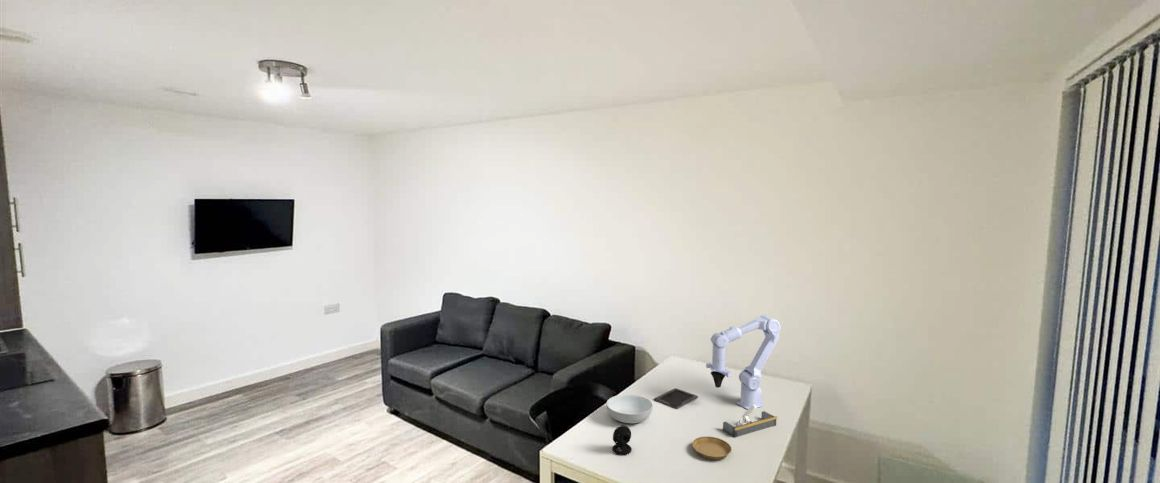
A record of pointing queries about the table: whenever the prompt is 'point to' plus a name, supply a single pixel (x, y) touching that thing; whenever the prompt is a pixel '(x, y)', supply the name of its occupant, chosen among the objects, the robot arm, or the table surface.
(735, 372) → the table surface
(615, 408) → the serving bowl
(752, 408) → the hook
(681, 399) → the picture frame
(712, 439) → the plant saucer
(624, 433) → the webcam
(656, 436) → the table surface
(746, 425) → the tray
